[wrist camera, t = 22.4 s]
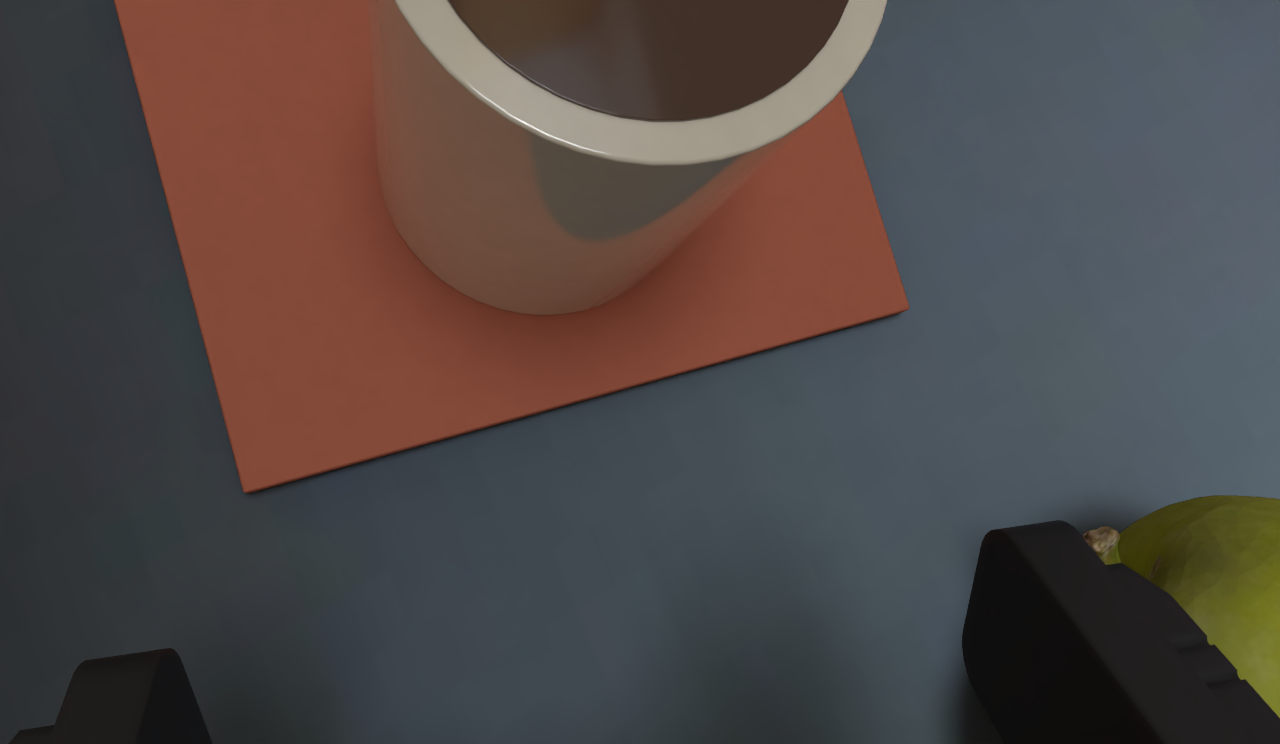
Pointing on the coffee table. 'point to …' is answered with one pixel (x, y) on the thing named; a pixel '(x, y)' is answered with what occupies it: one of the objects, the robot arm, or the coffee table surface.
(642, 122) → the cup
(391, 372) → the placemat
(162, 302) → the coffee table surface
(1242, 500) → the apple
